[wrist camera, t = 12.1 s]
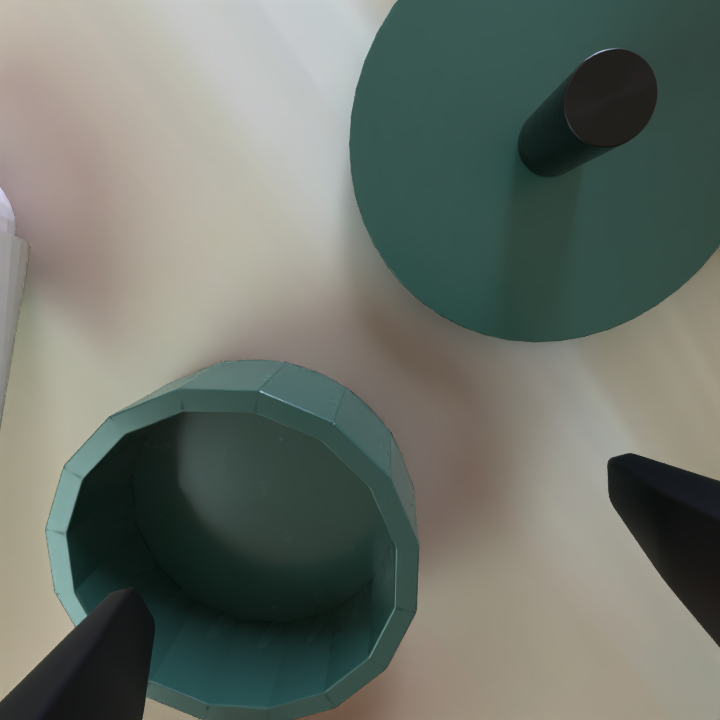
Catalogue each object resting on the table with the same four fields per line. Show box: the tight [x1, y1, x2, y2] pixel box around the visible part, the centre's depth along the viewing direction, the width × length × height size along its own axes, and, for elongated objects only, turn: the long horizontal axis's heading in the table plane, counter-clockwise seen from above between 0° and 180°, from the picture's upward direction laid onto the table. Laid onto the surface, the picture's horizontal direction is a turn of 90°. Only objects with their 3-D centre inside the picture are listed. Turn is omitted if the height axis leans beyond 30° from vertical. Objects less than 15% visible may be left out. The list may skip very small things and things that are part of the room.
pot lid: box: [349, 0, 720, 342], centre depth 16 cm, size 16×16×6 cm
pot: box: [45, 360, 419, 720], centre depth 21 cm, size 15×15×5 cm
